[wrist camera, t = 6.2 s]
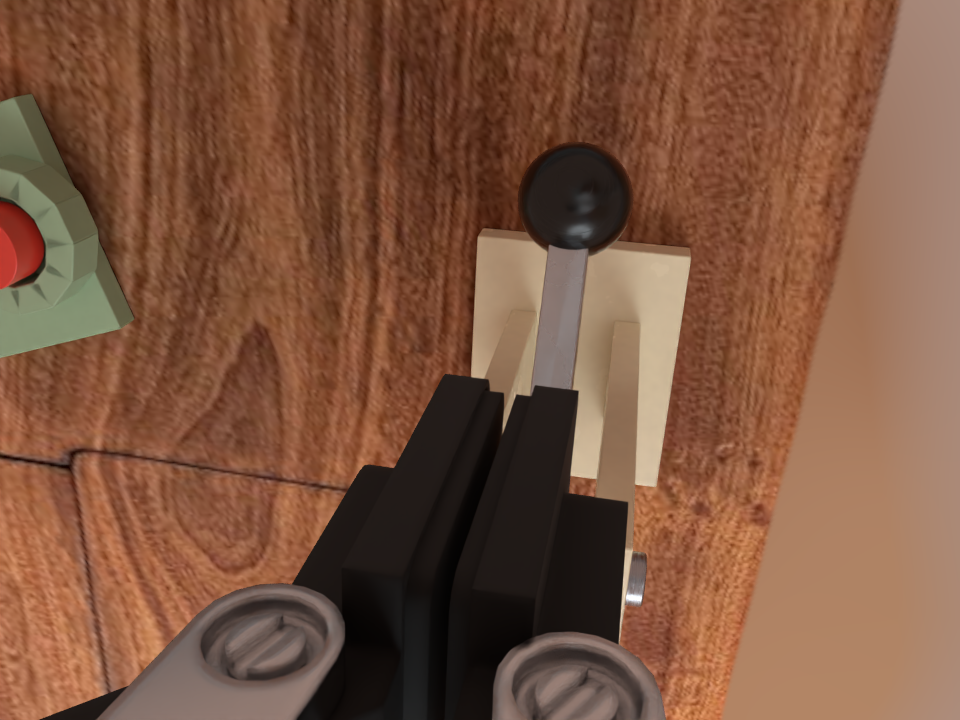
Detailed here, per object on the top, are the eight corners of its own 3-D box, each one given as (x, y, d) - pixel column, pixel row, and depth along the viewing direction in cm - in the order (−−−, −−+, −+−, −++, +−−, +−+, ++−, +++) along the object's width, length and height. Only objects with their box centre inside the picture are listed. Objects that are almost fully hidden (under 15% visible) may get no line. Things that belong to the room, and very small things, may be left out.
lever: (529, 159, 27) (520, 119, 24) (636, 169, 26) (642, 129, 23) (473, 598, 25) (456, 616, 22) (584, 615, 25) (583, 637, 22)
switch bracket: (482, 227, 35) (365, 409, 21) (690, 247, 34) (717, 454, 20) (471, 448, 39) (367, 727, 25) (656, 472, 38) (657, 778, 24)
